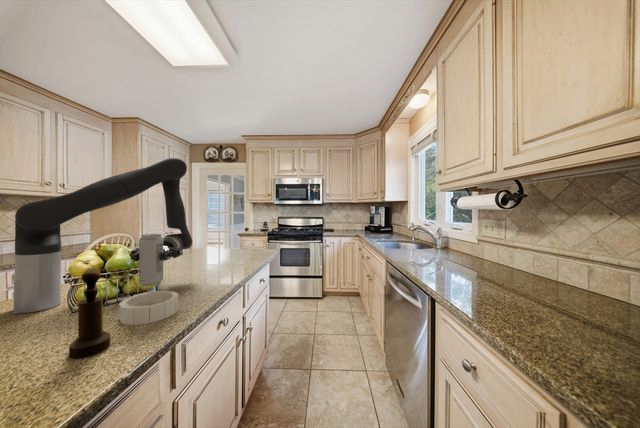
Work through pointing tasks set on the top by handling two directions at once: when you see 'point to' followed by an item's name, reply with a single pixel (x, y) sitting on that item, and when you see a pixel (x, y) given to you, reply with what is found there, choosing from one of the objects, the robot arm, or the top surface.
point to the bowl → (148, 307)
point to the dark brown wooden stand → (90, 321)
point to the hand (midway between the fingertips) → (148, 257)
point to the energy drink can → (150, 259)
